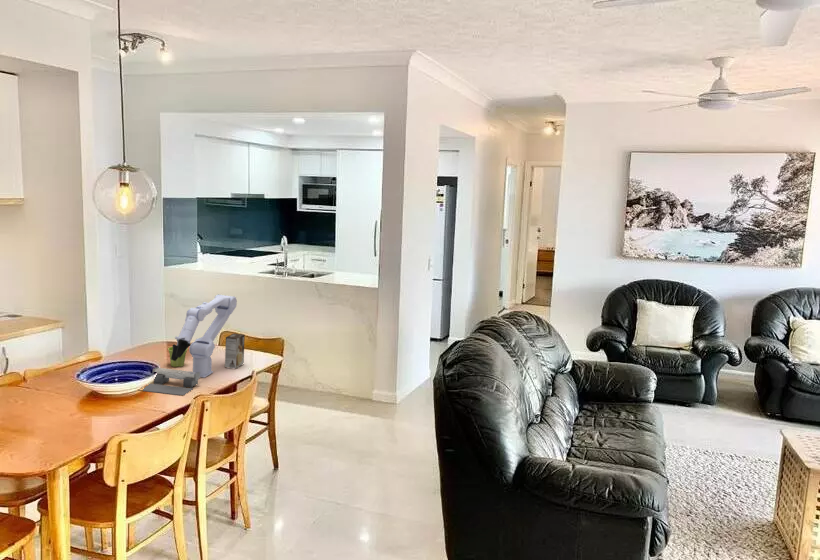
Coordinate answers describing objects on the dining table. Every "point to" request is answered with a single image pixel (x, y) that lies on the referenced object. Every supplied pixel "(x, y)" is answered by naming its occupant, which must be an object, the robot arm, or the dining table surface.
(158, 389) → the mat
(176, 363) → the plant pot
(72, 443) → the dining table surface
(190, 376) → the rail
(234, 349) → the coffee box
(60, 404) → the dining table surface
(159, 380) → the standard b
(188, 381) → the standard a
